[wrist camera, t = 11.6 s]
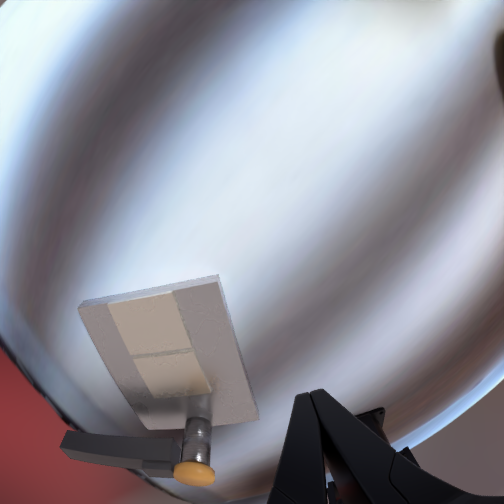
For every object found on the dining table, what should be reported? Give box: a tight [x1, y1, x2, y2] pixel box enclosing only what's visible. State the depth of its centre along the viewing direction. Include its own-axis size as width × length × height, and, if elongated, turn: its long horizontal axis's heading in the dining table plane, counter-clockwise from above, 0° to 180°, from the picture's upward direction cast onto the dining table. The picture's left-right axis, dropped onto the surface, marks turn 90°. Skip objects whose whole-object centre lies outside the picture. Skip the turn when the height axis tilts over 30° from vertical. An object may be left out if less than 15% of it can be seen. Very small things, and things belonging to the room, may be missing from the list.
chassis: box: [77, 274, 259, 467], centre depth 18 cm, size 15×11×6 cm
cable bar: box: [60, 430, 215, 486], centre depth 18 cm, size 15×3×4 cm, turn 100°
